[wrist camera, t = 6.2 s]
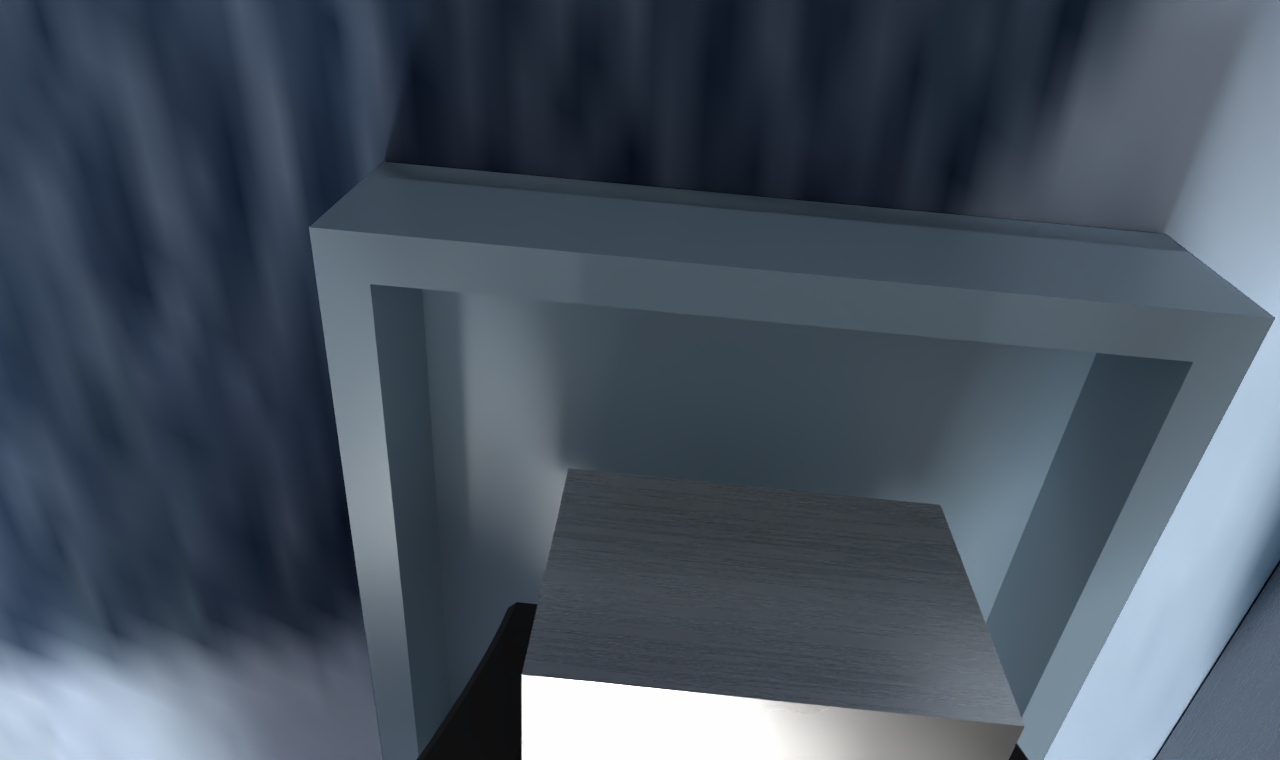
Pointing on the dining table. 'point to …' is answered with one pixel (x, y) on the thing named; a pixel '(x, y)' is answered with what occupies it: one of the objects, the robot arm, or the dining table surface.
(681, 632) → the white yellow block
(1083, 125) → the dining table surface
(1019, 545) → the tray
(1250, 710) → the hand plane
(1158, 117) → the dining table surface
